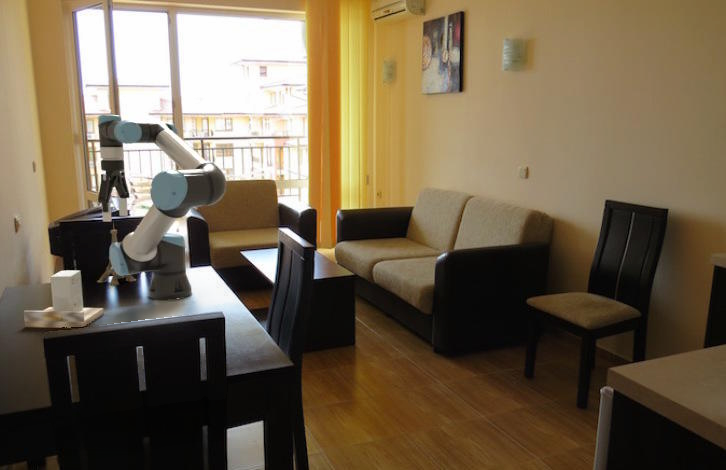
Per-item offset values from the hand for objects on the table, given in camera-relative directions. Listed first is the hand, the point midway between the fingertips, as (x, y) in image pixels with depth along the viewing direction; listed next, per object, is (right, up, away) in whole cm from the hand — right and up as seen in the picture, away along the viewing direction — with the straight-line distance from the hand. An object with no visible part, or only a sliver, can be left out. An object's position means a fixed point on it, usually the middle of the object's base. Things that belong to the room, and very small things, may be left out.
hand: (115, 218), depth 207 cm
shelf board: (-6, -33, -23) cm, 41 cm away
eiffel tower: (-10, -25, +25) cm, 37 cm away
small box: (-6, -31, -22) cm, 38 cm away
